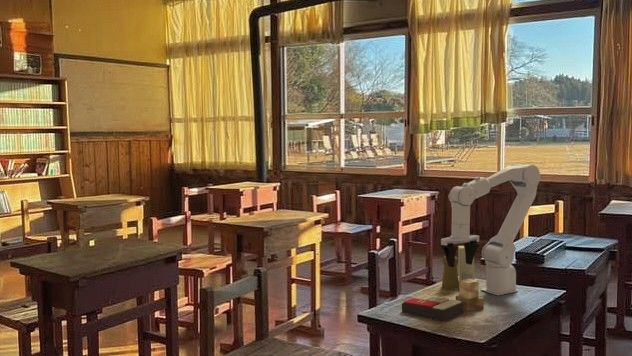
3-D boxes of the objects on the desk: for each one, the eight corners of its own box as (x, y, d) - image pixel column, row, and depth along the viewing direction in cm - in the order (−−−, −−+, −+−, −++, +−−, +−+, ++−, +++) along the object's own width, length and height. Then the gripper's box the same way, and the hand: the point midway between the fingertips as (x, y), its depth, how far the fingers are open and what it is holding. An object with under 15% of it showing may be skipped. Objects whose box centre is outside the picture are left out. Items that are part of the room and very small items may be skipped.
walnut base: (471, 304, 190) (471, 293, 189) (483, 309, 184) (483, 298, 184) (455, 306, 188) (455, 295, 187) (466, 311, 182) (466, 300, 182)
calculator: (421, 293, 190) (463, 299, 180) (422, 307, 191) (464, 313, 180) (400, 301, 182) (443, 307, 172) (401, 315, 183) (444, 322, 172)
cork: (462, 286, 210) (462, 255, 209) (453, 290, 205) (453, 258, 204) (447, 283, 214) (447, 253, 213) (438, 287, 209) (438, 256, 209)
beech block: (469, 294, 188) (469, 278, 188) (478, 297, 185) (478, 281, 185) (459, 296, 187) (459, 280, 186) (468, 299, 183) (468, 283, 183)
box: (472, 280, 218) (472, 245, 217) (474, 283, 213) (474, 247, 212) (457, 280, 218) (457, 245, 217) (459, 283, 214) (459, 247, 213)
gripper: (468, 220, 203) (468, 260, 204) (435, 223, 196) (434, 265, 197) (484, 223, 196) (483, 264, 197) (449, 226, 189) (449, 269, 190)
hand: (460, 265), depth 197 cm, fingers open, 7 cm apart
